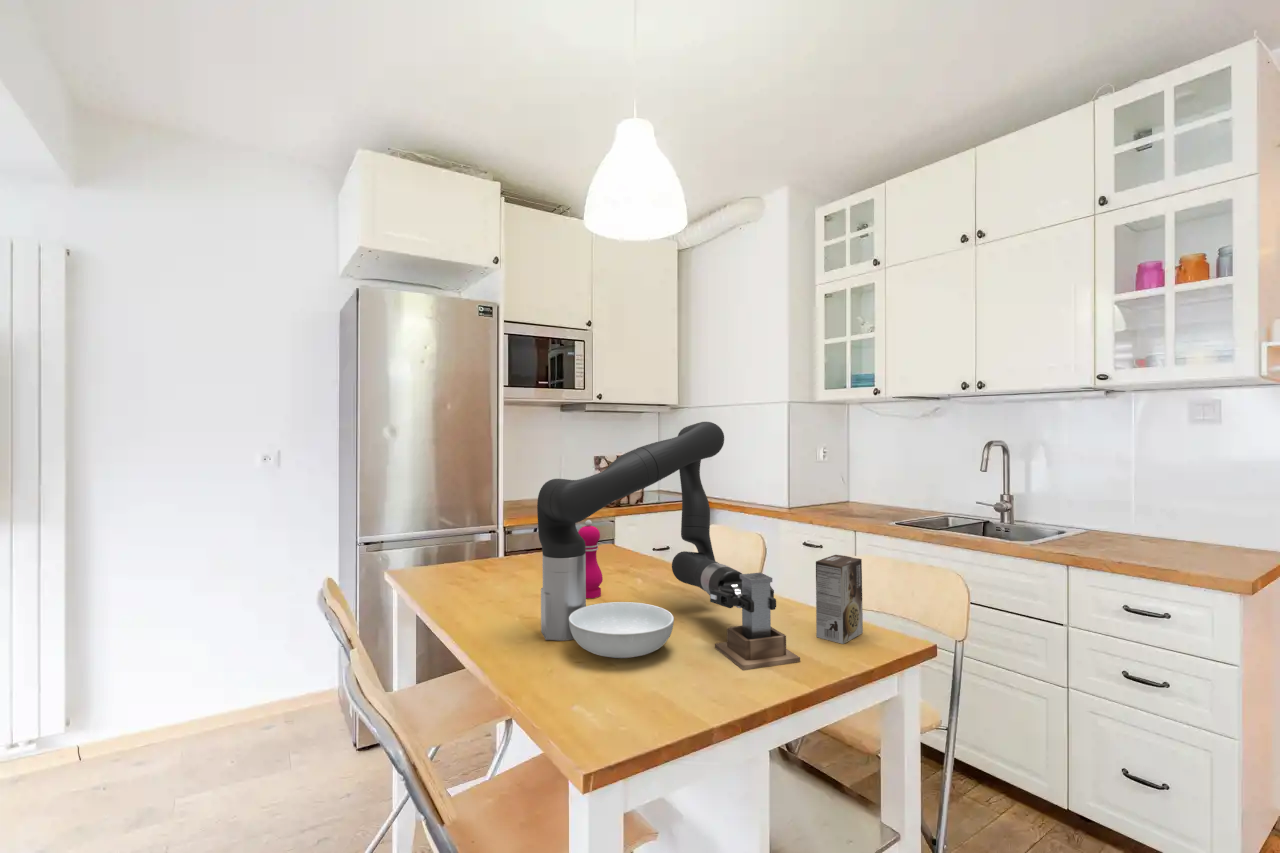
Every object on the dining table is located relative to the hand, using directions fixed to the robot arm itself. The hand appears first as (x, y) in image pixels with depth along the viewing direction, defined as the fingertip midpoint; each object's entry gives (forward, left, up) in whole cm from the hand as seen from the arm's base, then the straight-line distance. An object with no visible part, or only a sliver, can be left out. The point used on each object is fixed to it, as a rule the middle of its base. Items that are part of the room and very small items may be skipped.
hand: (763, 605), depth 116 cm
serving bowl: (-24, +14, -10) cm, 30 cm away
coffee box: (+22, +7, -10) cm, 25 cm away
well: (0, +3, -10) cm, 11 cm away
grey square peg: (0, +3, -7) cm, 8 cm away
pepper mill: (-21, +55, -10) cm, 60 cm away
